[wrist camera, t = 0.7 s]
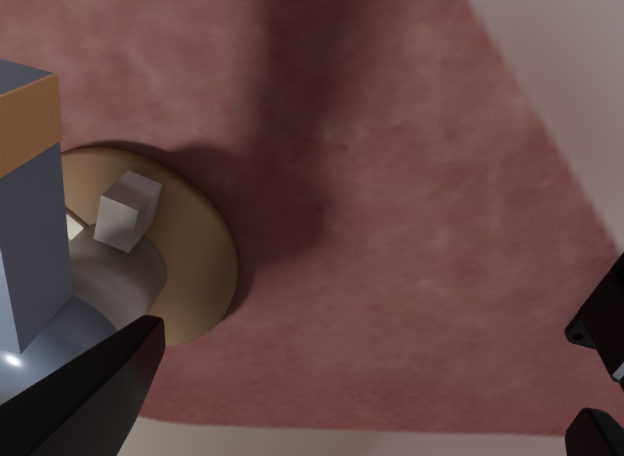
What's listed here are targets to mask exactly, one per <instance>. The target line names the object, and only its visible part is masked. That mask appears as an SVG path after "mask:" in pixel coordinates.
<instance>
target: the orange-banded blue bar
mask: <svg viewBox="0 0 624 456" xmlns="http://www.w3.org/2000/svg"><path fill="white" fill-rule="evenodd" d="M61 140H63V136H62V124H61V112H60V99H59V87H58V75H57V74H55V73H51V72H47V71H44V70H40V69H36V68H33V67H29V66H25V65H21V64H18V63H14V62H10V61H7V60H3V59H0V405H1V404H3V403H4V402H6V401H7V400H9V399H11V398H12V397H14V396H15V395H17V394H19V393H20V392H22V391H23V390H25V389H26V388H28V387H30V386H31V385H33V384H34V383H36V382H38V381H39V380H41V379H42V378H44V377H45V376H47V375H49V374H50V373H52V372H53V371H55V370H57V369H58V368H60V367H61V366H63V365H65V364H66V363H68V362H69V361H71V360H72V359H74V358H76V357H77V356H79V355H80V354H82V353H84V352H85V351H87V350H88V349H90V348H92V347H93V346H95V345H96V344H98V343H99V342H101V341H103V340H104V339H106V338H107V337H109V336H111V335H112V334H114V333H115V332H117V329H116V328H115V327H114V325H113V324H112V323H111V322H110V321H109V320H108V319H107V318H106V317H105V316H104V315H103V314H102V313H101V312H99V311H98V310H97V309H96V308H94V307H93V306H91V305H90V304H88V303H87V302H85V301H84V300H82V299H80V298H78V297H76V296H74V295H73V288H72V276H71V265H70V253H69V241H68V230H67V218H66V207H65V195H64V184H63V172H62V161H61V149H60V141H61Z"/></svg>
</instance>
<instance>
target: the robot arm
mask: <svg viewBox="0 0 624 456" xmlns="http://www.w3.org/2000/svg"><path fill="white" fill-rule="evenodd" d="M564 332H565V335H566V338H567V340H568V341H569V342H571V343H573V344H576V345H580V346H584V347H588V348H591V349H595V350H597V352H598V354H599V356H600V358H601V360H602V362H603V363H604V365H605V367H606V369H607V371H608V373H609V375H610V377H611V379H612V380H613V381H614V382H618V383H619V384H620V386H621V388H622V390H623V392H624V252H623V254H622V255H621V256H620V258H619V259H618V260H617V262H616V263H615V264H614V265H613V267H612V268H611V269H610V271H609V272H608V273H607V275H606V276H605V277H604V278H603V279H602V281H601V282H600V283H599V285H598V286H597V287H596V289H595V290H594V291H593V293H592V294H591V295H590V296H589V298H588V299H587V300H586V302H585V303H584V304H583V306H582V307H581V308H580V310H579V311H578V313H577V314H576V315H575V317H574V318H573V319H572V321H571V322H570V323H569V325H568V326H567V327H566V329H565V331H564ZM576 333H579V334H576ZM574 334H576V335H574ZM165 346H166V340H165V325H164V320H163V318H161V317H157V316H153V315H147V314H146V315H143V316H141V317H139V318H138V319H136V320H134V321H133V322H131V323H130V324H128V325H126V326H125V327H123V328H122V329H120V330H118V331H117V332H115V333H114V334H112V335H111V336H109V337H107V338H106V339H104V340H103V341H101V342H99V343H98V344H96V345H95V346H93V347H92V348H90V349H88V350H87V351H85V352H84V353H82V354H80V355H79V356H77V357H76V358H74V359H72V360H71V361H69V362H68V363H66V364H65V365H63V366H61V367H60V368H58V369H57V370H55V371H53V372H52V373H50V374H49V375H47V376H45V377H44V378H42V379H41V380H39V381H38V382H36V383H34V384H33V385H31V386H30V387H28V388H26V389H25V390H23V391H22V392H20V393H19V394H17V395H15V396H14V397H12V398H11V399H9V400H7V401H6V402H4V403H3V404H1V405H0V456H117V454H118V452H119V450H120V449H121V447H122V445H123V443H124V441H125V439H126V437H127V436H128V434H129V432H130V430H131V428H132V426H133V425H134V423H135V421H136V419H137V417H138V414H139V412H140V410H141V407H142V405H143V403H144V400H145V398H146V395H147V393H148V391H149V388H150V386H151V383H152V381H153V378H154V376H155V374H156V371H157V369H158V366H159V364H160V362H161V359H162V357H163V354H164V351H165ZM565 445H566V452H567V456H624V429H623V428H622V427H621V426H620V425H619V424H618V423H617V422H616V421H615V420H614V419H613V418H612V417H611V416H610V415H609V414H608V413H607V412H605V411H602V410H597V409H592V408H583V409H582V410H581V411H580V412H579V413H578V415H577V416H576V418H575V419H574V420H573V422H572V423H571V425H570V426H569V427H568V429H567V431H566V434H565Z"/></svg>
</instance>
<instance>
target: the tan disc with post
mask: <svg viewBox="0 0 624 456" xmlns="http://www.w3.org/2000/svg"><path fill="white" fill-rule="evenodd" d="M61 161H62V172H63V184H64V195H65V207H66V218H67V230H68V241H69V253H70V265H71V276H72V288H73V295H74V296H76V297H78V298H80V299H82V300H84V301H85V302H87V303H88V304H90V305H91V306H93V307H94V308H96V309H97V310H98V311H99V312H101V313H102V314H103V315H104V316H105V317H106V318H107V319H108V320H109V321H110V322H111V323H112V324H113V325H114V327H115V328H116V329H117V331H118V330H120V329H122V328H123V327H125V326H126V325H128V324H130V323H131V322H133V321H134V320H136V319H138V318H139V317H141V316H143V315H146V314H147V315H153V316H157V317H161V318H163V320H164V325H165V340H166V346H170V345H176V344H181V343H185V342H188V341H191V340H194V339H196V338H198V337H200V336H202V335H204V334H205V333H207V332H208V331H210V330H211V329H212V328H213V327H214V326H215V325H217V324H218V323H219V322H220V320H221V319H222V317H223V316H224V315H225V313H226V311H227V309H228V307H229V305H230V302H231V300H232V298H233V295H234V293H235V290H236V287H237V283H238V275H239V263H238V255H237V251H236V246H235V243H234V240H233V238H232V235H231V233H230V231H229V229H228V227H227V225H226V223H225V221H224V219H223V218H222V217H221V215H220V214H219V212H218V211H217V209H216V208H215V207H214V205H213V204H212V203H211V202H210V201H209V200H208V199H207V198H206V196H205V195H204V194H203V193H202V192H200V191H199V190H198V189H197V188H196V187H195V186H194V185H193V184H192V183H190V182H189V181H188V180H186V179H185V178H184V177H182V176H181V175H180V174H178V173H177V172H175V171H173V170H172V169H170V168H168V167H166V166H165V165H163V164H161V163H159V162H157V161H154V160H152V159H150V158H148V157H145V156H142V155H139V154H136V153H133V152H130V151H125V150H120V149H115V148H106V147H85V148H78V149H73V150H68V151H66V152H63V153H61Z"/></svg>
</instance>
